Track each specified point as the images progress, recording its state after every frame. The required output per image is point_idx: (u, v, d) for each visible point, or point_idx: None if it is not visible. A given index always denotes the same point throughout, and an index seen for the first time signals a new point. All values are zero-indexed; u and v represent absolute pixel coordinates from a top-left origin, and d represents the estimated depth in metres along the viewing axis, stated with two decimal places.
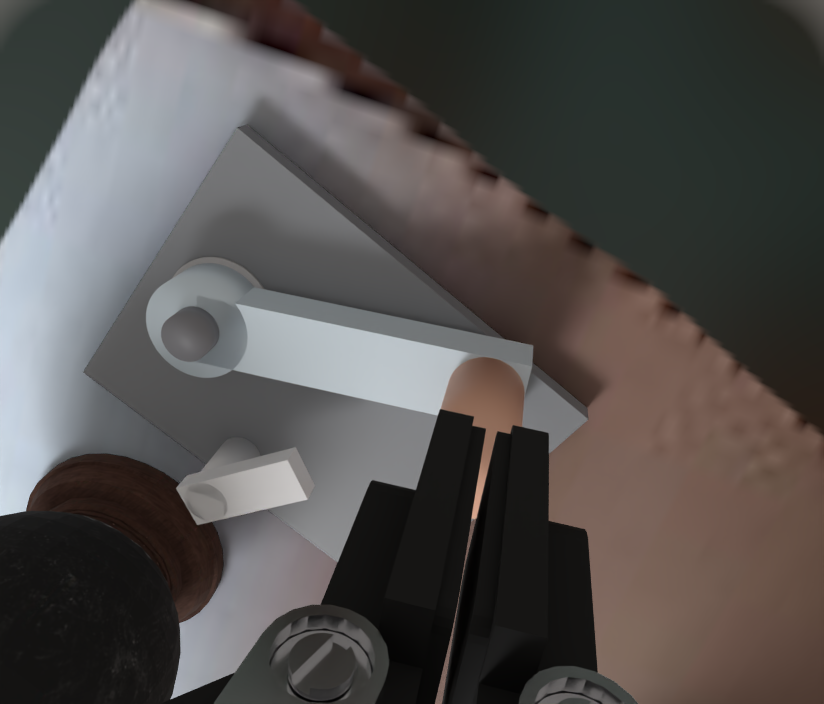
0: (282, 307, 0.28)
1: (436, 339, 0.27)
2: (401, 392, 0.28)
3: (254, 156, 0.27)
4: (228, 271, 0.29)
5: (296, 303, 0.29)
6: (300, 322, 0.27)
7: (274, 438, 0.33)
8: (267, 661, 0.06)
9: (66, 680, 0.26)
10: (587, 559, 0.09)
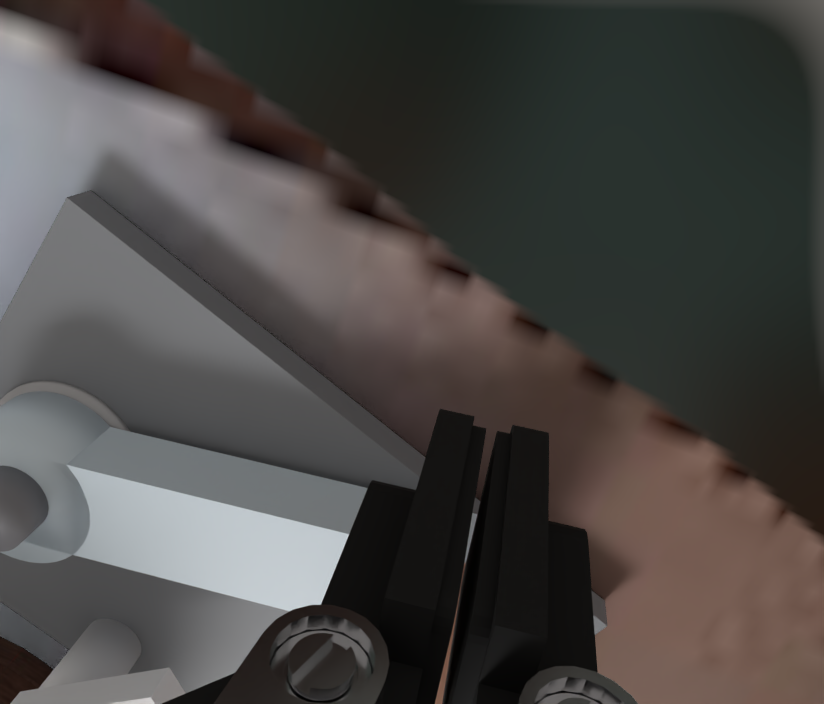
0: (140, 469, 0.18)
1: None
2: (322, 600, 0.18)
3: (96, 240, 0.18)
4: (69, 405, 0.19)
5: (167, 457, 0.19)
6: (165, 496, 0.18)
7: (157, 623, 0.23)
8: (267, 661, 0.06)
9: None
10: (587, 559, 0.09)
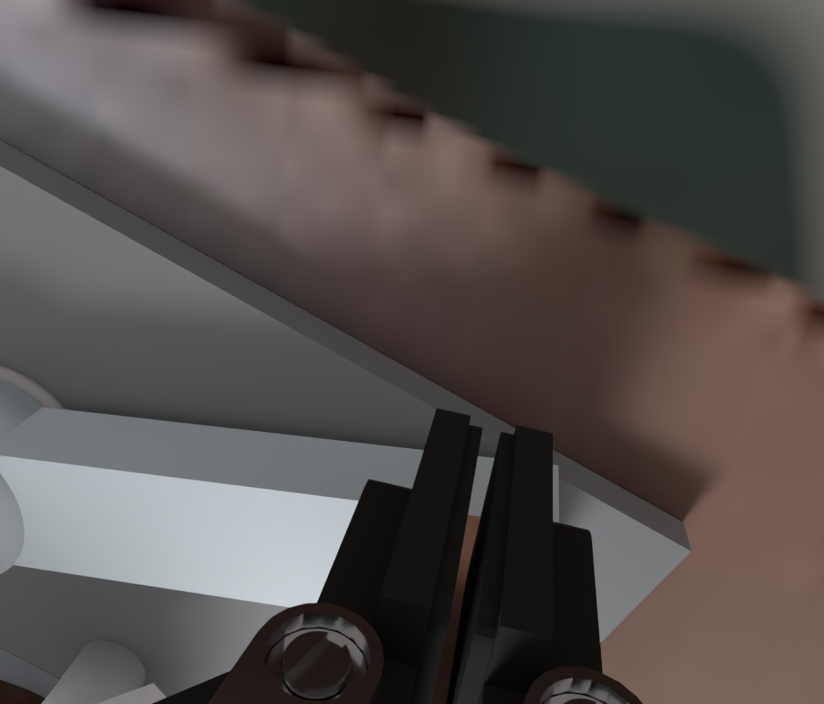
0: (72, 449, 0.15)
1: (364, 484, 0.14)
2: (313, 586, 0.14)
3: None
4: None
5: (107, 433, 0.15)
6: (103, 477, 0.14)
7: (154, 637, 0.19)
8: (262, 659, 0.06)
9: None
10: (591, 560, 0.09)
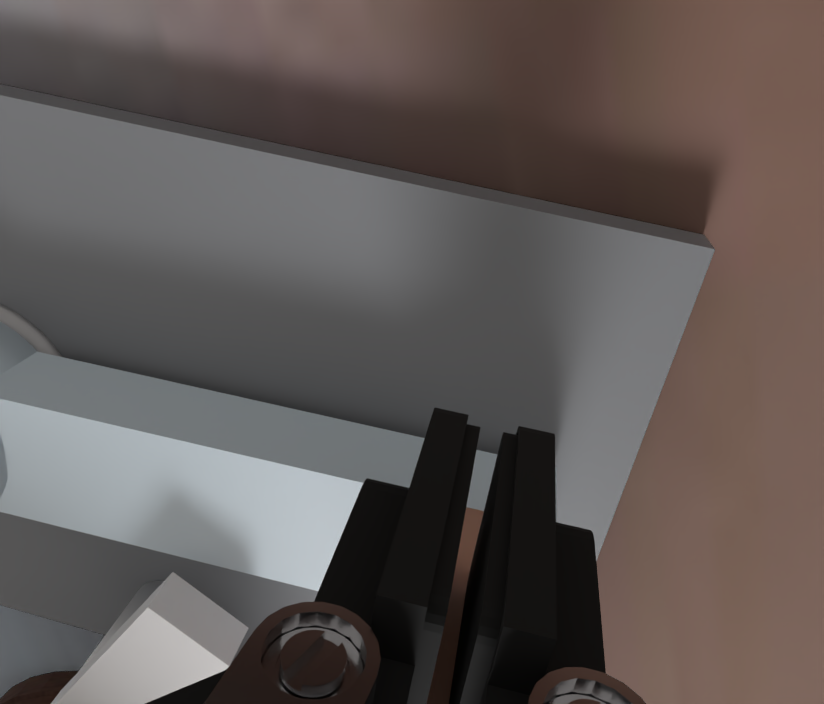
0: (69, 399, 0.14)
1: (365, 465, 0.14)
2: (301, 562, 0.14)
3: None
4: None
5: (105, 386, 0.15)
6: (98, 431, 0.14)
7: (196, 561, 0.18)
8: (259, 657, 0.06)
9: None
10: (594, 560, 0.09)
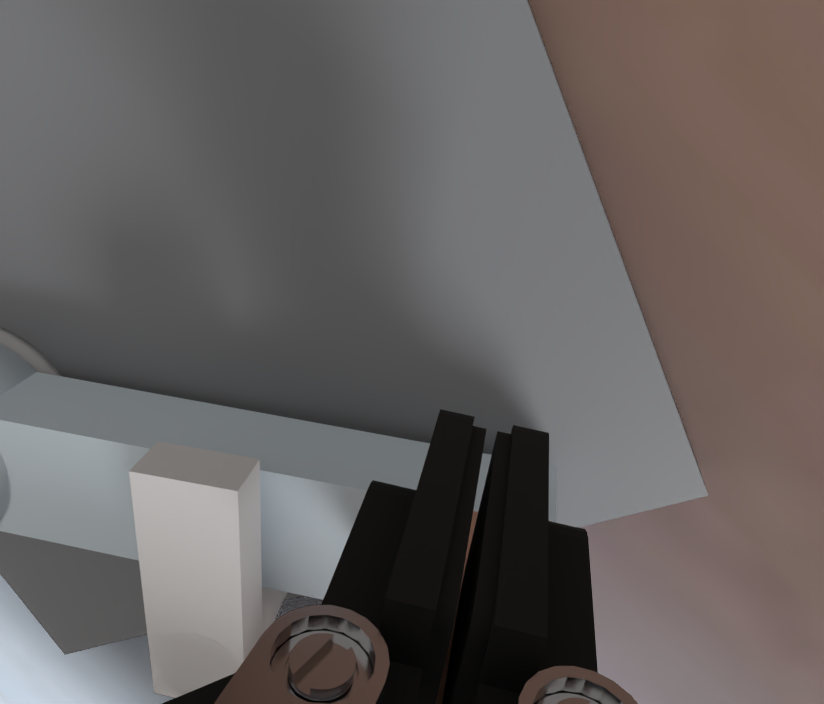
0: (67, 417, 0.15)
1: (363, 471, 0.14)
2: (303, 571, 0.14)
3: None
4: None
5: (103, 403, 0.15)
6: (97, 448, 0.14)
7: None
8: (268, 661, 0.06)
9: None
10: (587, 559, 0.09)
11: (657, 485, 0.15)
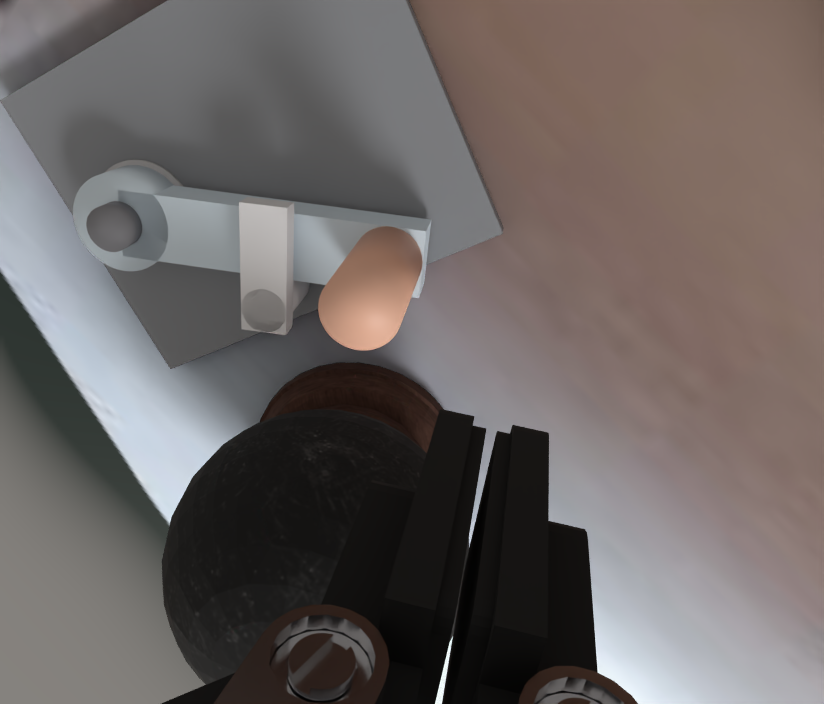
0: (197, 197, 0.30)
1: (340, 216, 0.30)
2: (312, 268, 0.30)
3: (24, 99, 0.31)
4: (148, 170, 0.31)
5: (212, 194, 0.31)
6: (214, 208, 0.30)
7: None
8: (267, 661, 0.06)
9: (271, 489, 0.26)
10: (587, 559, 0.09)
11: (479, 229, 0.31)
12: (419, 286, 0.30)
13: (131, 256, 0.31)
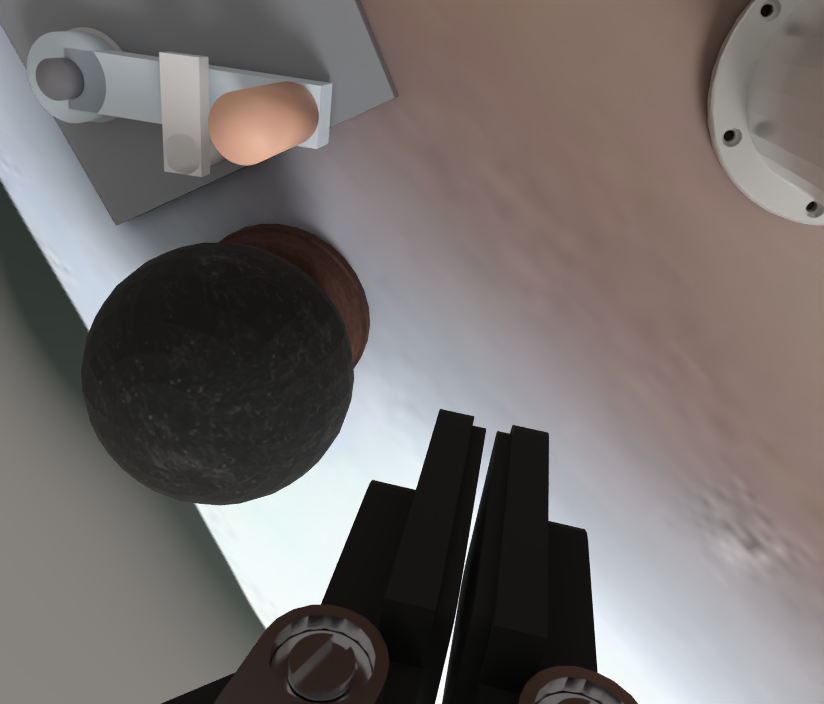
0: (131, 56, 0.35)
1: (250, 73, 0.35)
2: None
3: None
4: (93, 35, 0.36)
5: (145, 56, 0.36)
6: (144, 64, 0.35)
7: None
8: (267, 661, 0.06)
9: (167, 283, 0.31)
10: (587, 559, 0.09)
11: (374, 94, 0.36)
12: (317, 138, 0.35)
13: (75, 109, 0.36)
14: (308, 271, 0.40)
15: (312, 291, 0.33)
